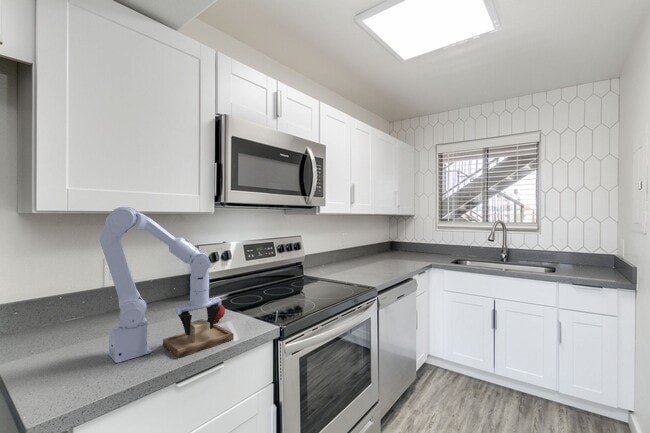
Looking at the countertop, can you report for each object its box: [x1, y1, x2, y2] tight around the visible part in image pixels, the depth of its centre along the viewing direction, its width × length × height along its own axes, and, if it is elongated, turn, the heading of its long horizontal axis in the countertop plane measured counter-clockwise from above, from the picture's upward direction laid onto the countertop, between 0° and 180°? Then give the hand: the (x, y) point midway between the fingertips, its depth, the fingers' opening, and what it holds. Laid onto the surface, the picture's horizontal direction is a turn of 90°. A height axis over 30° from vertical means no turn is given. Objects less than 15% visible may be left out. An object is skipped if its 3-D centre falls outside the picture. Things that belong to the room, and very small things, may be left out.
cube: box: [188, 318, 210, 342], centre depth 101 cm, size 5×5×5 cm
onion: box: [214, 303, 226, 322], centre depth 121 cm, size 6×6×8 cm
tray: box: [162, 323, 234, 359], centre depth 101 cm, size 18×12×2 cm, turn 138°
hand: (199, 330), depth 101 cm, fingers open, 7 cm apart
